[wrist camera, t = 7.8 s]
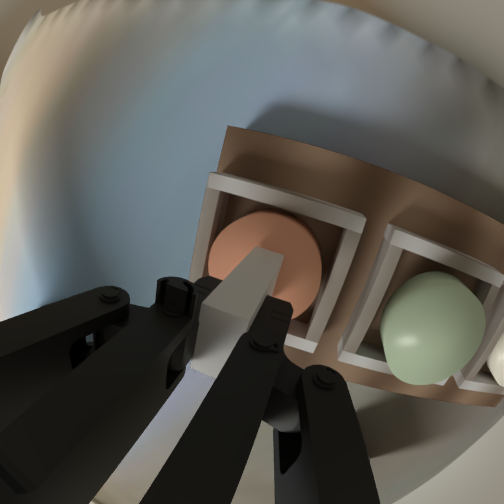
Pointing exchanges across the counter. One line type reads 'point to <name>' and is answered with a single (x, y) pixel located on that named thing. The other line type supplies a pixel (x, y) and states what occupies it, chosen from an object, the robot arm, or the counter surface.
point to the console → (360, 253)
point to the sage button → (431, 328)
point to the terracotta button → (277, 240)
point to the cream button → (497, 361)
